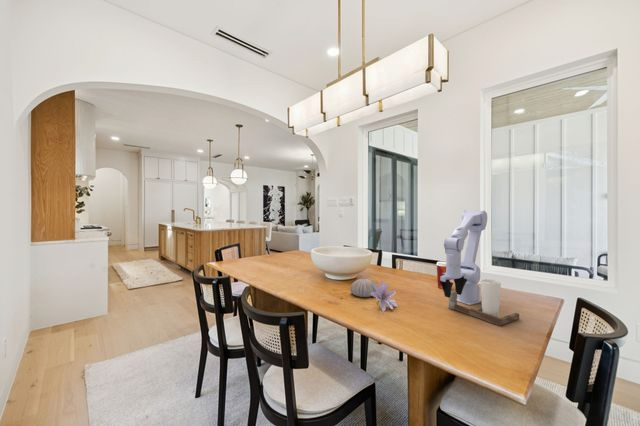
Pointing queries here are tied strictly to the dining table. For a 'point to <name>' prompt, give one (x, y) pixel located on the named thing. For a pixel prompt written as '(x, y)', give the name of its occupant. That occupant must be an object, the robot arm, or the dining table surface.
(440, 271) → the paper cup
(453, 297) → the sliding frame
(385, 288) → the water lily
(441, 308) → the dining table surface
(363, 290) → the sea urchin shell
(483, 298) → the drinking glass
